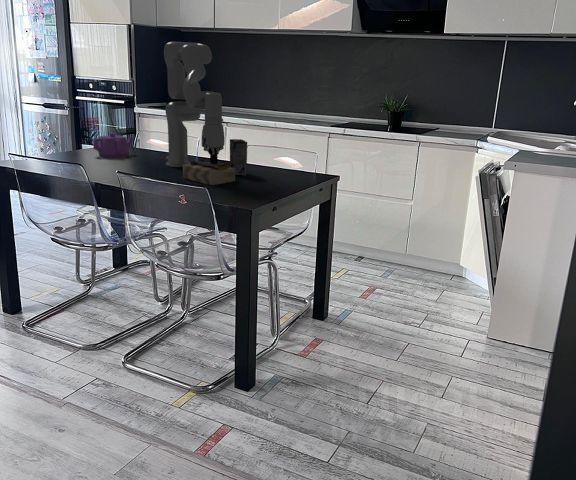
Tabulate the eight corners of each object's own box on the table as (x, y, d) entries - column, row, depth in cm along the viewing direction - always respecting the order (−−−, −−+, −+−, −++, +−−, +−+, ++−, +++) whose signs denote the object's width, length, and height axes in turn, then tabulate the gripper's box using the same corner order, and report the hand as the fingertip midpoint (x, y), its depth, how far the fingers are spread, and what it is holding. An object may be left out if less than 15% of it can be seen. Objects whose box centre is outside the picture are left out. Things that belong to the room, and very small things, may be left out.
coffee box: (229, 172, 273) (229, 139, 268) (241, 171, 275) (242, 138, 270) (234, 175, 265) (234, 141, 260) (247, 175, 267) (247, 141, 262)
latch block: (182, 177, 256) (182, 159, 253) (206, 174, 266) (206, 156, 263) (211, 185, 243) (211, 166, 241) (235, 181, 253) (235, 162, 251)
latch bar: (194, 164, 256) (194, 162, 256) (200, 163, 259) (200, 161, 259) (217, 166, 246) (216, 164, 246) (223, 165, 249) (223, 163, 249)
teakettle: (92, 157, 299) (90, 134, 295) (106, 152, 315) (104, 130, 311) (122, 159, 297) (121, 135, 293) (135, 154, 313) (133, 132, 309)
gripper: (220, 120, 252) (220, 160, 258) (194, 121, 242) (195, 164, 247) (231, 121, 247) (231, 162, 253) (205, 123, 237) (206, 166, 242)
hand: (213, 163), depth 250 cm, fingers closed
